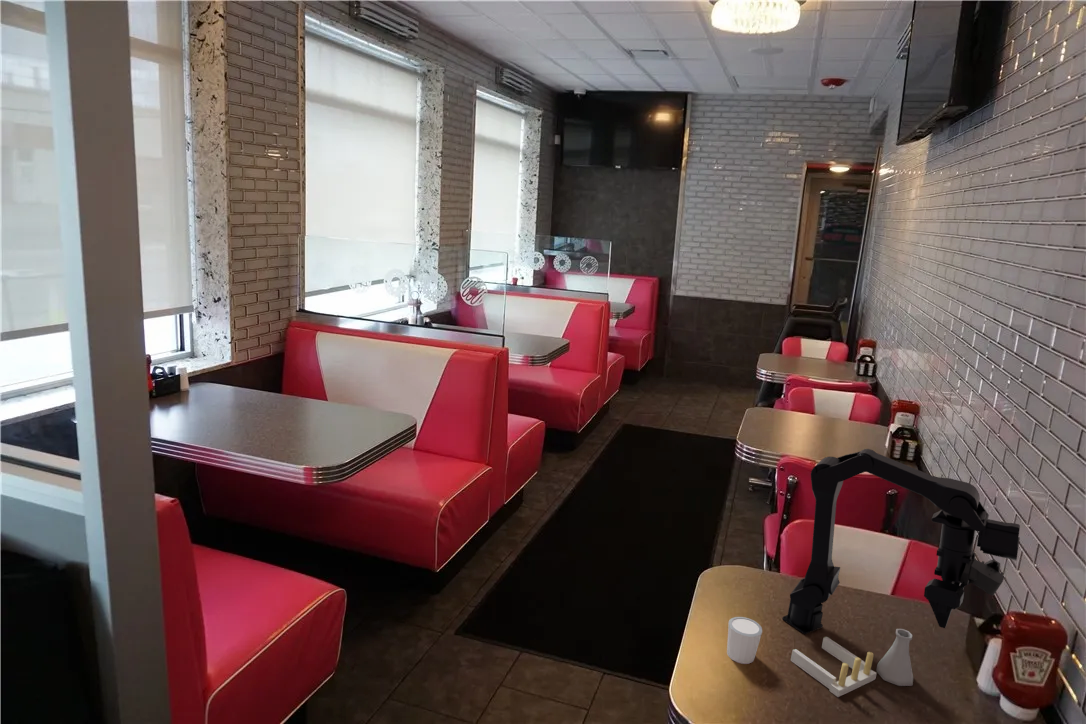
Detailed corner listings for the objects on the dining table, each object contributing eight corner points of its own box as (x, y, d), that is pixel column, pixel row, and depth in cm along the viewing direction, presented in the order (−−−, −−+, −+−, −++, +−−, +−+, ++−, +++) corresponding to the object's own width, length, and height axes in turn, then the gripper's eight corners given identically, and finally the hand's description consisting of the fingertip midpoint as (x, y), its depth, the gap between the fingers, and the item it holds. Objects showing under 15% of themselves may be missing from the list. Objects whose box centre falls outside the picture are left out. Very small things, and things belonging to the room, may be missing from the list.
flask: (918, 690, 146) (928, 647, 144) (880, 683, 147) (889, 640, 145) (908, 668, 153) (918, 626, 151) (871, 661, 154) (881, 619, 152)
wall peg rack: (788, 661, 152) (793, 636, 150) (826, 645, 158) (830, 621, 157) (837, 697, 142) (843, 670, 141) (875, 679, 148) (881, 653, 147)
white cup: (759, 651, 154) (764, 622, 153) (754, 669, 148) (759, 640, 146) (727, 641, 157) (732, 612, 155) (720, 658, 151) (725, 629, 149)
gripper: (994, 575, 133) (984, 653, 136) (1011, 541, 147) (1001, 612, 150) (927, 557, 140) (919, 631, 143) (949, 526, 154) (941, 594, 157)
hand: (947, 617), depth 148 cm, fingers open, 9 cm apart
